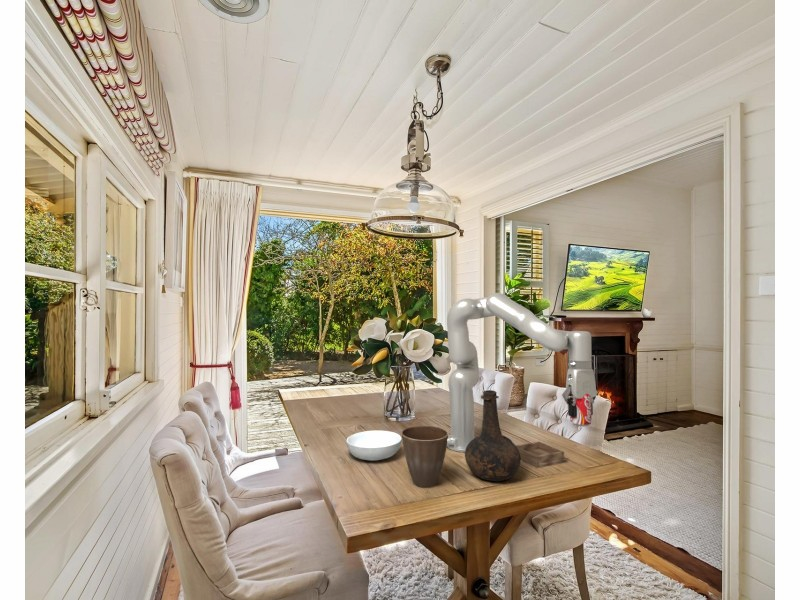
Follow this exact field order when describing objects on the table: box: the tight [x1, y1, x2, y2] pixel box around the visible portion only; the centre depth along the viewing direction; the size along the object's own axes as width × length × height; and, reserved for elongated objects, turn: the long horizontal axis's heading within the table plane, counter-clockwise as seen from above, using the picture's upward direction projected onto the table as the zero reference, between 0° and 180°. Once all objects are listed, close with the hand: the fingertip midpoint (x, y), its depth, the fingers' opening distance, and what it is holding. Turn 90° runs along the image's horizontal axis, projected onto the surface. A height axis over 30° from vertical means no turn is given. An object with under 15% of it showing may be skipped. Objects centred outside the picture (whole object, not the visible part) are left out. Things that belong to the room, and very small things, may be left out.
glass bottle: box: [464, 389, 522, 482], centre depth 131 cm, size 18×18×28 cm
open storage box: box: [515, 441, 568, 469], centre depth 146 cm, size 14×14×4 cm
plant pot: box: [401, 425, 449, 489], centre depth 126 cm, size 15×15×16 cm
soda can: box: [569, 392, 593, 427], centre depth 141 cm, size 7×7×12 cm
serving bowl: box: [346, 430, 403, 462], centre depth 149 cm, size 21×21×7 cm
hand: (580, 414), depth 141 cm, fingers closed on soda can, 7 cm apart
